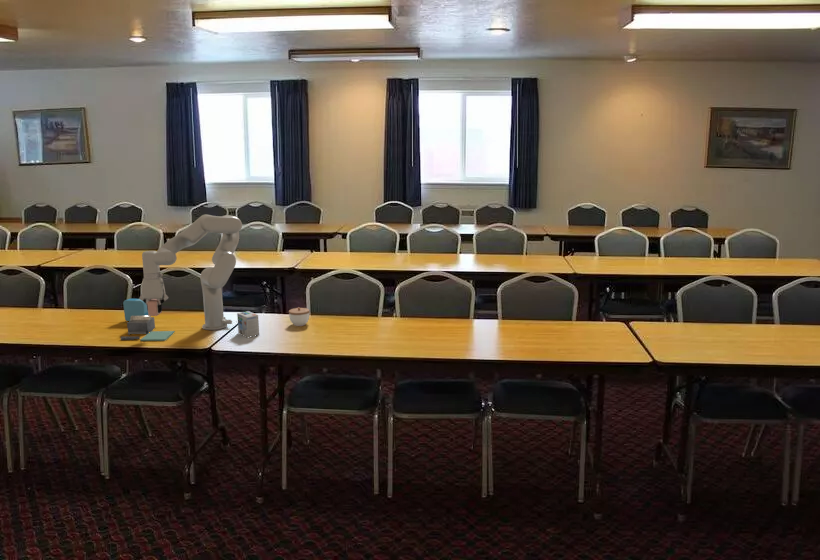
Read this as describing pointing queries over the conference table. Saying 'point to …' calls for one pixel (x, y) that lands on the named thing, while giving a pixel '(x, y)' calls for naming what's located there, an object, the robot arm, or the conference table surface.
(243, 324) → the light bulb box
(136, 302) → the data package
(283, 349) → the conference table surface
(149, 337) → the pad
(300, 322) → the lidded jar
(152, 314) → the pink rectangular prism
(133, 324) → the dispenser
